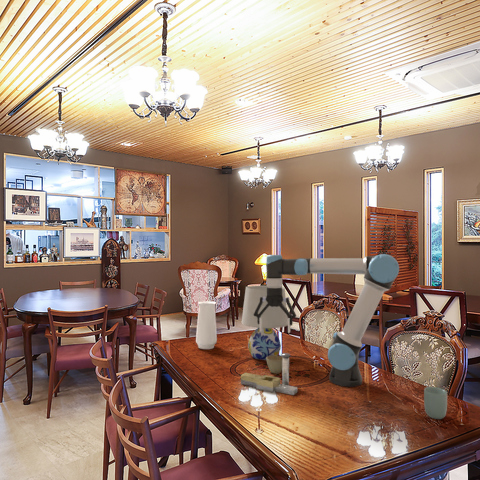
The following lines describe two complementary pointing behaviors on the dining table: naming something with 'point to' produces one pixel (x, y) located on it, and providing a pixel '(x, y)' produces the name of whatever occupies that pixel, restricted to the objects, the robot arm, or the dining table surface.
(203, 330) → the vase
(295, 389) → the bar with brass collar
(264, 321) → the table lamp
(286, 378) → the pin
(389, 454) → the dining table surface
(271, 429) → the dining table surface
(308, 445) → the dining table surface
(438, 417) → the cup
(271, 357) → the flower pot
